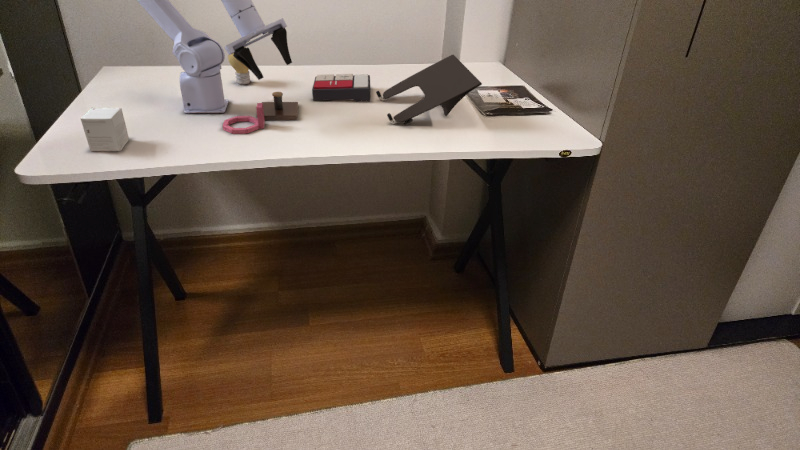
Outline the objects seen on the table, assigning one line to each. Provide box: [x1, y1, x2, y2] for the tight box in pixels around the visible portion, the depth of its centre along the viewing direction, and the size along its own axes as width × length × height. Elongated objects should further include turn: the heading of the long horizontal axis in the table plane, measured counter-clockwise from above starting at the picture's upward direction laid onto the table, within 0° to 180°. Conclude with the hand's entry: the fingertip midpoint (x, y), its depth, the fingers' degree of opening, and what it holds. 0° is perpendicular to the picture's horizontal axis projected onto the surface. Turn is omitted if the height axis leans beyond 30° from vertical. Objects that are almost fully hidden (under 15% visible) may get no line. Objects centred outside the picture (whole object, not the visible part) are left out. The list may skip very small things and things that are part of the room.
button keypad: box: [311, 73, 371, 103], centre depth 141 cm, size 11×4×15 cm
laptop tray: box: [375, 54, 483, 125], centre depth 133 cm, size 23×23×9 cm
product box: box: [80, 107, 130, 152], centre depth 109 cm, size 6×6×7 cm
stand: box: [261, 91, 299, 121], centre depth 128 cm, size 9×9×5 cm
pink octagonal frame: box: [222, 102, 266, 135], centre depth 120 cm, size 9×8×5 cm
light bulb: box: [227, 46, 254, 85], centre depth 143 cm, size 6×6×10 cm
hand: (275, 71), depth 118 cm, fingers open, 7 cm apart
